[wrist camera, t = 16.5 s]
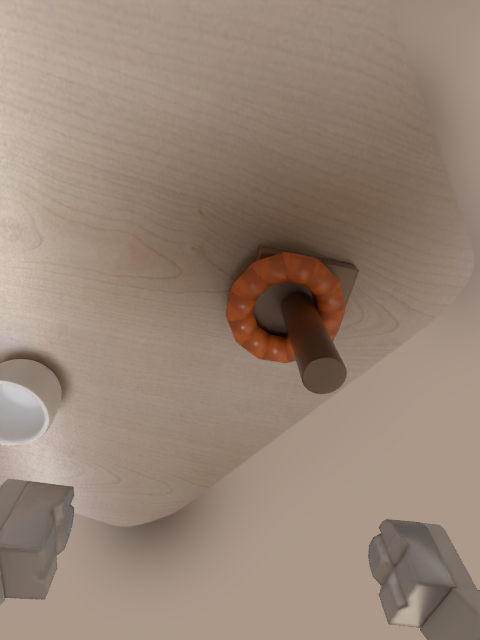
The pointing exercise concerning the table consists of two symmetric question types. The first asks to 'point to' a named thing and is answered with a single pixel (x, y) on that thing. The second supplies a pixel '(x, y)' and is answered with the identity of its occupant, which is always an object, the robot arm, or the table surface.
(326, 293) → the orange beaded ring
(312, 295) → the stand
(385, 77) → the table surface
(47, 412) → the teacup
